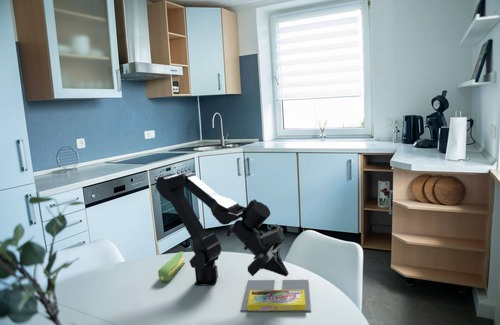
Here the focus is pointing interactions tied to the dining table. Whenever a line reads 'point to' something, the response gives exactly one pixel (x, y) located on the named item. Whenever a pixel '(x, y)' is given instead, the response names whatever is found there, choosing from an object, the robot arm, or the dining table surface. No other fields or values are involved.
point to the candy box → (276, 300)
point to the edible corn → (171, 267)
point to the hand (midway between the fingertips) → (287, 275)
